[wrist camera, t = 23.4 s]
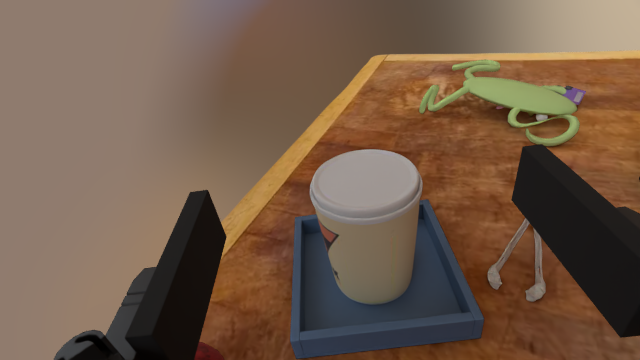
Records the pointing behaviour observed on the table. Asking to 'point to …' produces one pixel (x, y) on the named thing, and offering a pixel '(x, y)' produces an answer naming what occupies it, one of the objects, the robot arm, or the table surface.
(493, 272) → the tweezers
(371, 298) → the coffee cup
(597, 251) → the robot arm
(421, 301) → the dish tray
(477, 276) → the table surface
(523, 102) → the figurine
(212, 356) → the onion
